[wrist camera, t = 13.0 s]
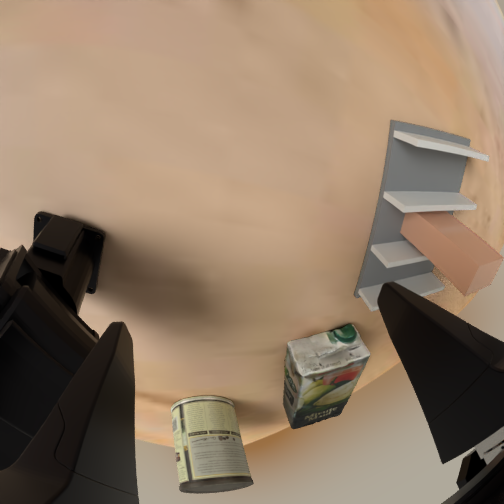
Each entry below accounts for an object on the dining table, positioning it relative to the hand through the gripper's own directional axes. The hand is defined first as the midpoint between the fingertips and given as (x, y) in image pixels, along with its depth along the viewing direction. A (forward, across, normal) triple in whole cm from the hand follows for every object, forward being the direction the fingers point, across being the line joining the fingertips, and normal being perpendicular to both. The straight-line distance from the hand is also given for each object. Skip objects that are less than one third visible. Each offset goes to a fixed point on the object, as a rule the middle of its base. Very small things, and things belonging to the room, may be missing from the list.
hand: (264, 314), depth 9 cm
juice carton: (+14, -12, +29) cm, 34 cm away
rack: (+13, -20, +4) cm, 24 cm away
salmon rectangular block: (+12, -20, +4) cm, 24 cm away
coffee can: (+13, +5, +35) cm, 38 cm away
